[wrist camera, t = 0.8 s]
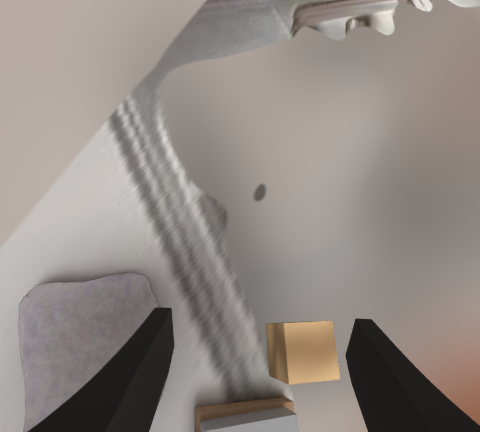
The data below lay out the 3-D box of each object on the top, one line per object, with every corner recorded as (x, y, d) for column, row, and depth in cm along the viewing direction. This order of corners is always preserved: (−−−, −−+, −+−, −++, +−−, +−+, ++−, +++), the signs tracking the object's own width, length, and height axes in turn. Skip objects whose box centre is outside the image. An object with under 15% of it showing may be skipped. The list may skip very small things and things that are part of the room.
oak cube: (313, 371, 29) (340, 379, 25) (269, 375, 28) (288, 384, 23) (308, 321, 30) (332, 320, 26) (265, 323, 29) (283, 323, 25)
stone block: (145, 269, 30) (21, 292, 25) (156, 259, 26) (10, 284, 21) (168, 400, 27) (33, 455, 22) (183, 412, 23) (23, 483, 18)
